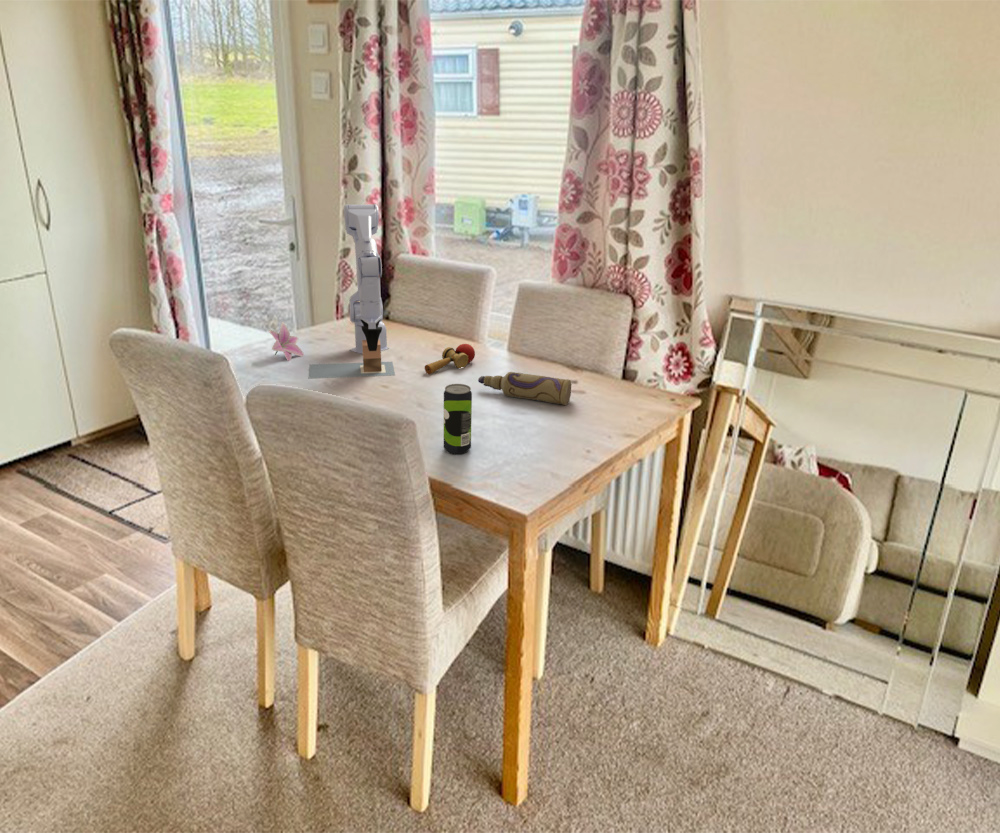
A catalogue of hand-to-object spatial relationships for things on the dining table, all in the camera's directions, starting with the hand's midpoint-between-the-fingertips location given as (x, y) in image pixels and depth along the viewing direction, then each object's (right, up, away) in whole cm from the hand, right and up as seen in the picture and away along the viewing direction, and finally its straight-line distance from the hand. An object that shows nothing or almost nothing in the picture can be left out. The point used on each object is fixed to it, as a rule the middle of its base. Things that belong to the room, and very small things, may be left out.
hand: (372, 346), depth 223 cm
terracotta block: (0, -3, +1) cm, 3 cm away
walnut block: (0, -6, +3) cm, 7 cm away
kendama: (+22, -6, +7) cm, 24 cm away
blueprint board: (-6, -7, +2) cm, 9 cm away
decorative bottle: (+44, -15, -12) cm, 48 cm away
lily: (-27, -3, +11) cm, 30 cm away
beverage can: (+27, -28, -45) cm, 59 cm away
